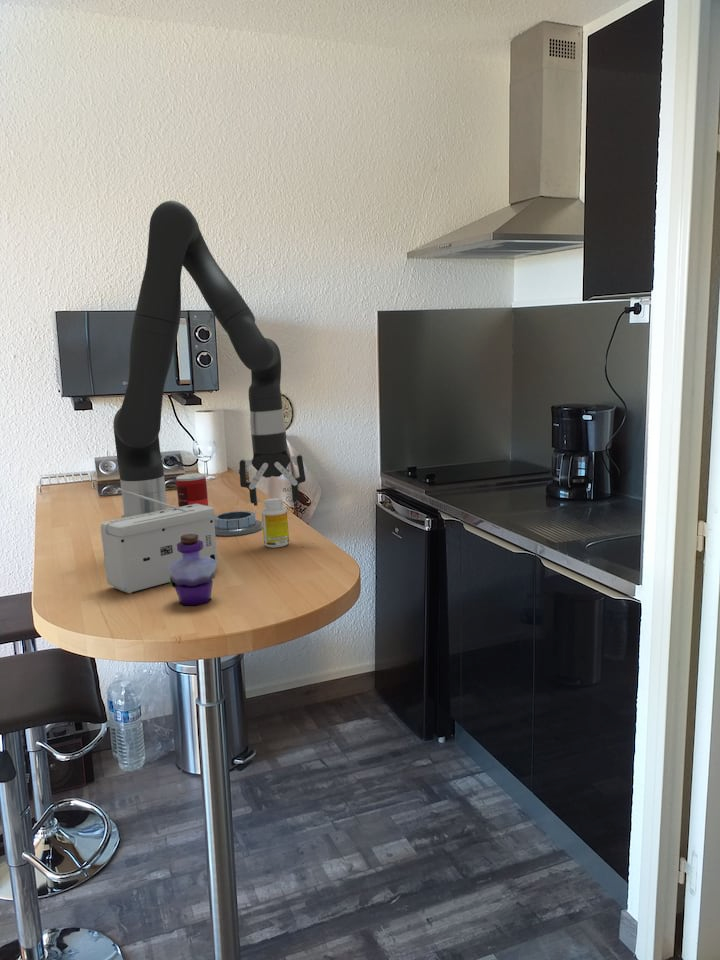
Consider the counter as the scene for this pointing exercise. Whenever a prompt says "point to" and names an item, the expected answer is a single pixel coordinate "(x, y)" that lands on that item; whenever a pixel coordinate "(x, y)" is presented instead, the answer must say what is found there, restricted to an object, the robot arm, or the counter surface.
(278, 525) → the supplement bottle
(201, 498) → the canned food
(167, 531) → the stereo radio cassette player
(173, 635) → the counter surface
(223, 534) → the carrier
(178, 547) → the potion bottle
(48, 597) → the counter surface
